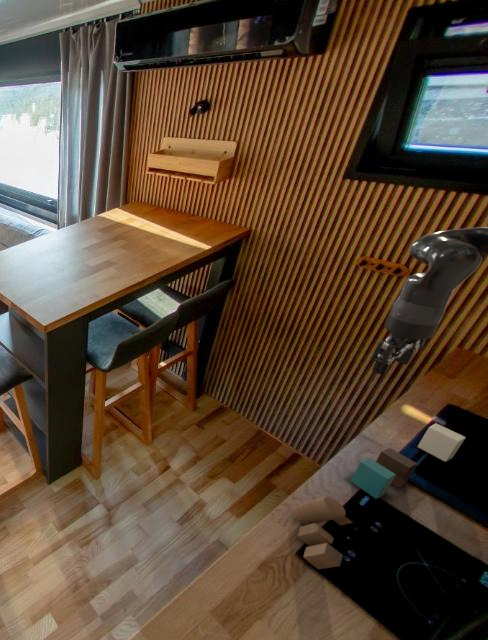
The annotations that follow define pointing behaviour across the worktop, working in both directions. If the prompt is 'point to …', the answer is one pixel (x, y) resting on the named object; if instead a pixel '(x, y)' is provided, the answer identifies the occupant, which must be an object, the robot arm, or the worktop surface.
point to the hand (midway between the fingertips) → (390, 367)
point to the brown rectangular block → (396, 465)
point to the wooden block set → (320, 530)
